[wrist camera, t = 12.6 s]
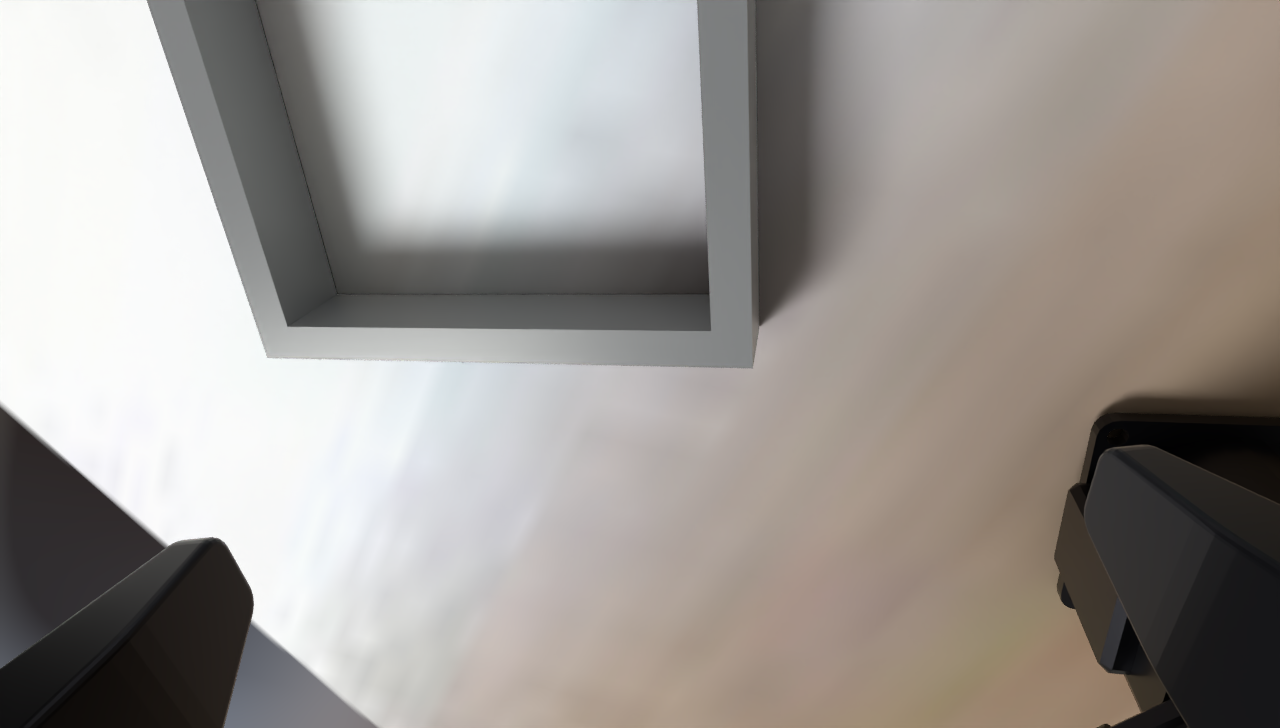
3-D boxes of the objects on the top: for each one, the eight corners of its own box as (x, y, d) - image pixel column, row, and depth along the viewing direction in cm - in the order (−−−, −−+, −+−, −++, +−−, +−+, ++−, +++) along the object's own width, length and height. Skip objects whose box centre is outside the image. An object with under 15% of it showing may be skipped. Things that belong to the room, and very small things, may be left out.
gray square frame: (752, -265, 15) (742, -308, 13) (759, 327, 21) (752, 368, 18) (171, -168, 18) (82, -190, 16) (317, 323, 24) (267, 358, 21)
